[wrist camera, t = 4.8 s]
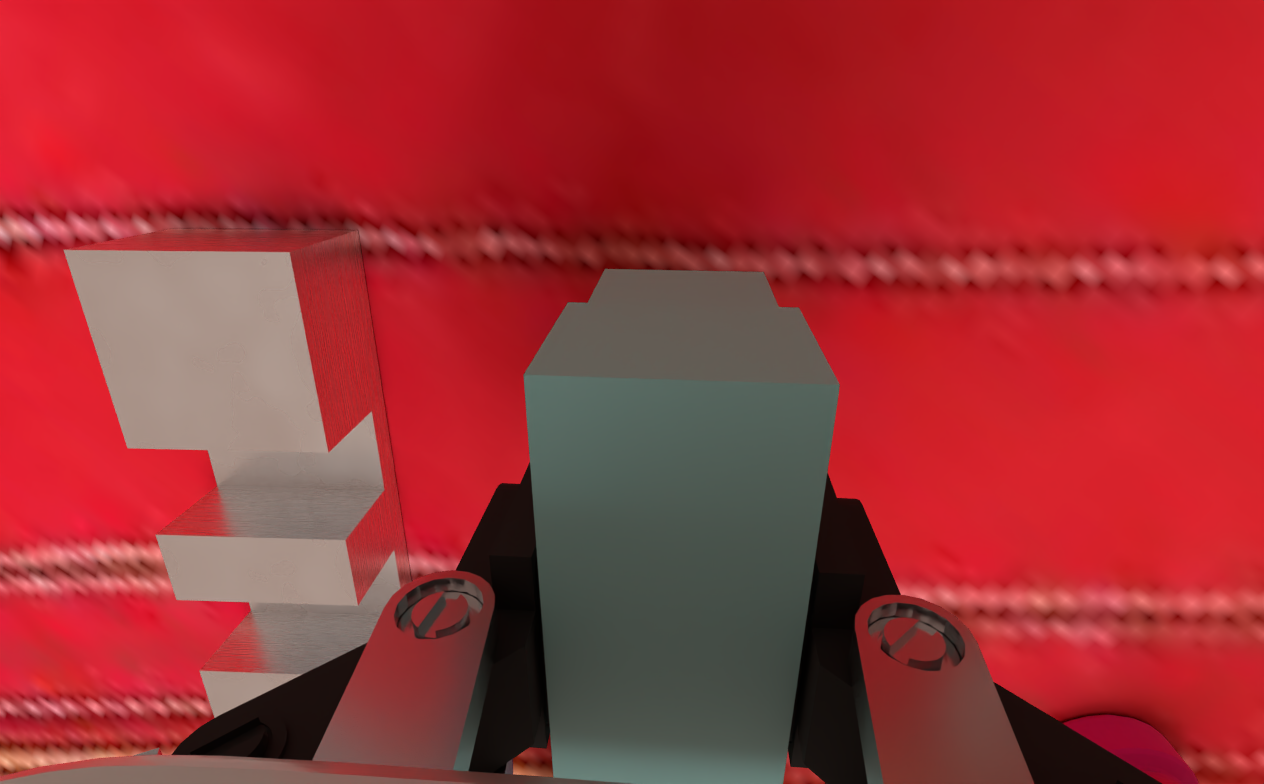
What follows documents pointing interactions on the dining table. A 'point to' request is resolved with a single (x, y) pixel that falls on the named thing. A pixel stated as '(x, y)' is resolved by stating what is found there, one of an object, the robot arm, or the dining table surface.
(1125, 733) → the pepper mill
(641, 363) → the teal u-shaped block
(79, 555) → the dining table surface
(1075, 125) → the dining table surface
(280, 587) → the rail
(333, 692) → the robot arm
